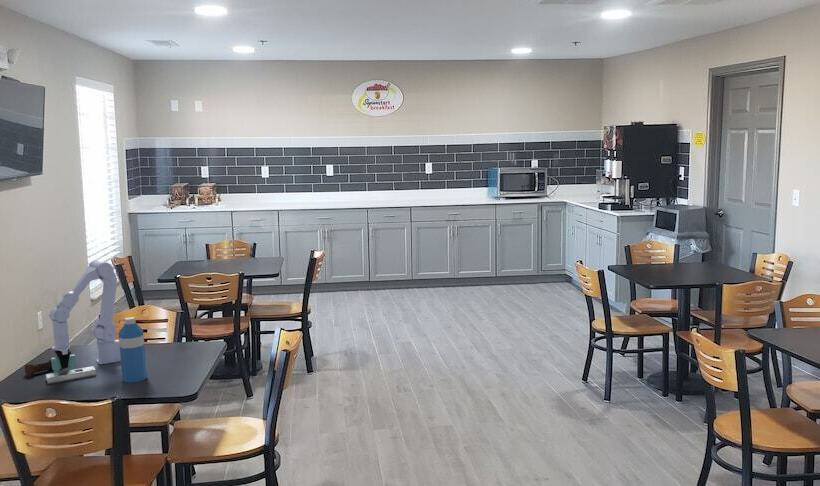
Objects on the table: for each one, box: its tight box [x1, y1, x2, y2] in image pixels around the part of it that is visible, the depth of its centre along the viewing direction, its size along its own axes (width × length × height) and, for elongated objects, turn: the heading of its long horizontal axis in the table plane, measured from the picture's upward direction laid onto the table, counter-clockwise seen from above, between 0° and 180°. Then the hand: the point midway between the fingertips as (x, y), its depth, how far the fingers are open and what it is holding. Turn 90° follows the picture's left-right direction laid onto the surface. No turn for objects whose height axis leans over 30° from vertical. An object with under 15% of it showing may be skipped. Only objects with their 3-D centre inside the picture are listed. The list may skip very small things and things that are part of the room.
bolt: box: [24, 359, 54, 377], centre depth 323 cm, size 6×5×15 cm
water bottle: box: [117, 316, 148, 383], centre depth 307 cm, size 9×9×25 cm
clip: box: [50, 353, 77, 373], centre depth 321 cm, size 9×2×6 cm, turn 122°
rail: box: [45, 365, 97, 385], centre depth 313 cm, size 18×6×2 cm, turn 122°
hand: (64, 367), depth 321 cm, fingers open, 3 cm apart
